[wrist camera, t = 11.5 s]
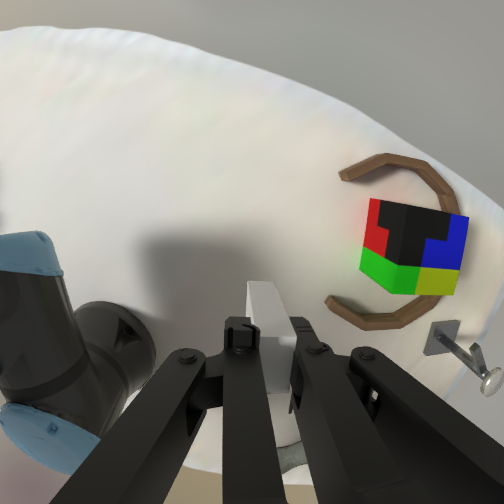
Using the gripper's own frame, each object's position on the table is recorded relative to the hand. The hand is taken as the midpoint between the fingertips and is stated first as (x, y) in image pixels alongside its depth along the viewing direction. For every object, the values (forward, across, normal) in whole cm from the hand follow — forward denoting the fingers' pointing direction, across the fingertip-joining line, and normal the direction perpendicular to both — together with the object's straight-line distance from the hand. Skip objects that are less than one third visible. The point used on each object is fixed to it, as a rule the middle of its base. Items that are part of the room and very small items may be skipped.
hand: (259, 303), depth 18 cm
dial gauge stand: (+22, -34, +15) cm, 43 cm away
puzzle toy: (+23, -21, -1) cm, 31 cm away
